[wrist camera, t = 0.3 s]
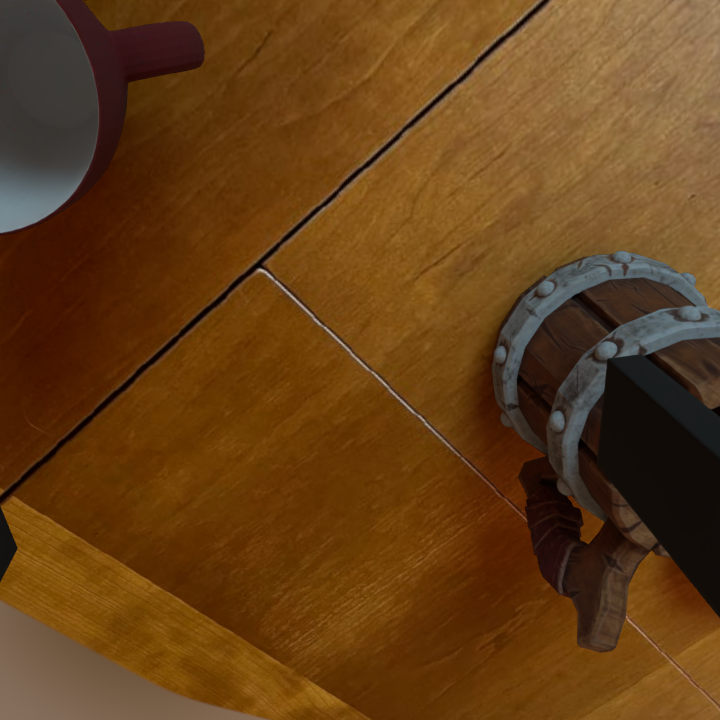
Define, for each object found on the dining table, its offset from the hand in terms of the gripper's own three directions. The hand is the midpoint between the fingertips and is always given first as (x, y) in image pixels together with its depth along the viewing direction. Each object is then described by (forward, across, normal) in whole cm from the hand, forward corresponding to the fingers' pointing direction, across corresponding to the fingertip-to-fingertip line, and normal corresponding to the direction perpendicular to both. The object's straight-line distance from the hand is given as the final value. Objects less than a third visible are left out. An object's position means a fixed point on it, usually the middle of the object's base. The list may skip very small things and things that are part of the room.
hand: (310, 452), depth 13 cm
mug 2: (+19, +14, -9) cm, 25 cm away
